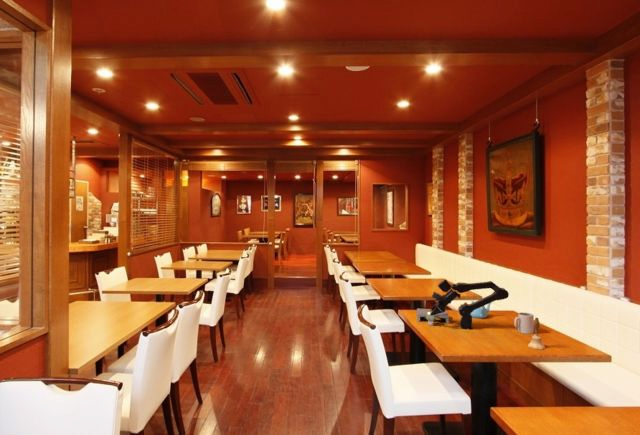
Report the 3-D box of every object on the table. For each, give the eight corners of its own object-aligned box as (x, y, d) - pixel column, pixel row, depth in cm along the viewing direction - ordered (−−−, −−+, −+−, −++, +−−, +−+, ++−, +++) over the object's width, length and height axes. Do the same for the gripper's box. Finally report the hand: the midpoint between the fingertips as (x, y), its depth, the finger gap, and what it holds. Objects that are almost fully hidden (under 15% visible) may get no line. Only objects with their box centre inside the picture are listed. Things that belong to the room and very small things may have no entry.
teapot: (482, 320, 259) (483, 305, 259) (462, 316, 270) (462, 301, 270) (491, 316, 269) (492, 302, 269) (471, 312, 280) (471, 298, 280)
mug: (526, 329, 239) (526, 312, 239) (536, 333, 231) (537, 315, 231) (509, 330, 237) (510, 313, 237) (519, 334, 228) (519, 316, 228)
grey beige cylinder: (435, 323, 250) (435, 310, 250) (436, 326, 244) (436, 312, 244) (425, 323, 251) (425, 309, 251) (425, 326, 245) (426, 312, 245)
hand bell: (524, 344, 211) (524, 316, 211) (538, 344, 212) (539, 315, 212) (534, 349, 203) (534, 320, 203) (548, 349, 204) (549, 319, 204)
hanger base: (446, 317, 266) (446, 310, 266) (448, 323, 251) (448, 316, 251) (416, 315, 271) (416, 308, 271) (417, 321, 255) (417, 314, 255)
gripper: (439, 285, 255) (421, 300, 258) (440, 291, 237) (421, 307, 240) (451, 298, 253) (433, 313, 256) (453, 304, 235) (434, 320, 238)
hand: (430, 313), depth 247 cm, fingers open, 9 cm apart
